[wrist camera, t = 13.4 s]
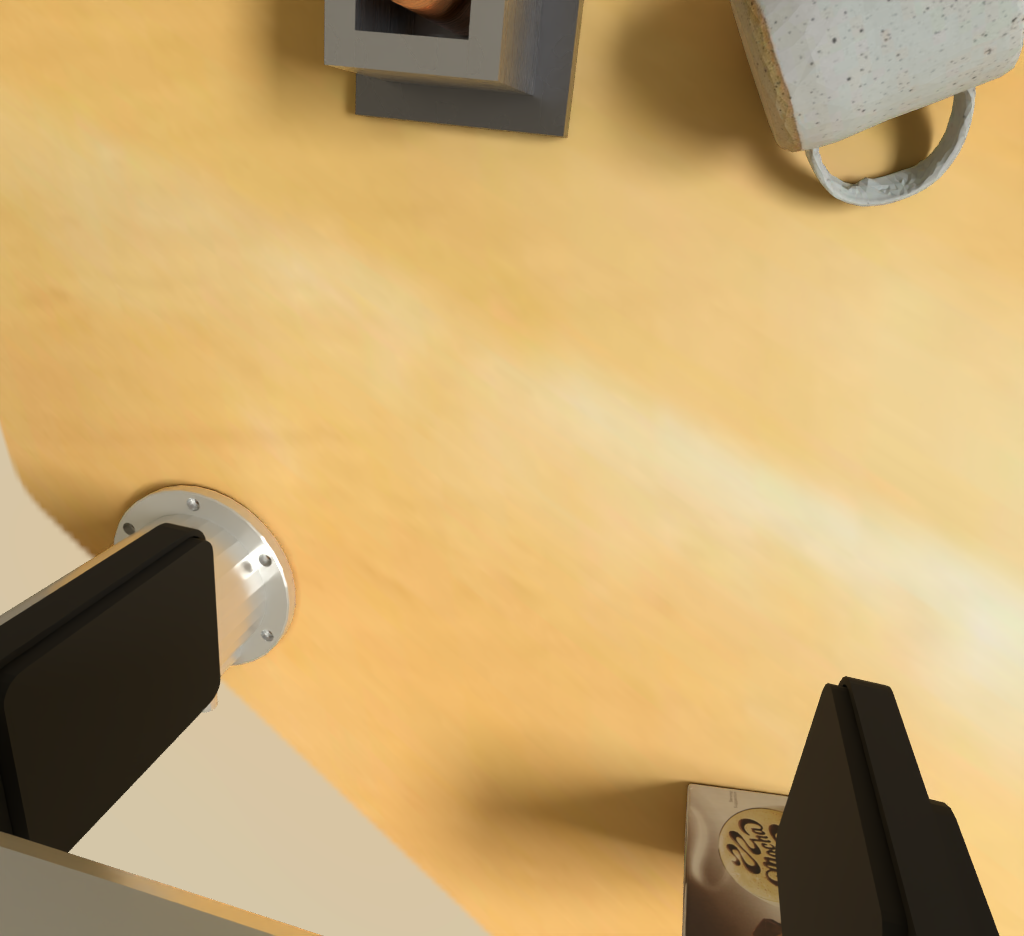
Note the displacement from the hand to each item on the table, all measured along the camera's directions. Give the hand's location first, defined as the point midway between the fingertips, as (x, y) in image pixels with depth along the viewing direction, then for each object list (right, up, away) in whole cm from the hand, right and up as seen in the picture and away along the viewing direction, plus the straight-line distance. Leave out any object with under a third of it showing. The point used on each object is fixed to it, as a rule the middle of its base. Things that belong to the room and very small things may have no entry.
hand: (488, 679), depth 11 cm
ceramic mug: (+15, +20, +20) cm, 32 cm away
